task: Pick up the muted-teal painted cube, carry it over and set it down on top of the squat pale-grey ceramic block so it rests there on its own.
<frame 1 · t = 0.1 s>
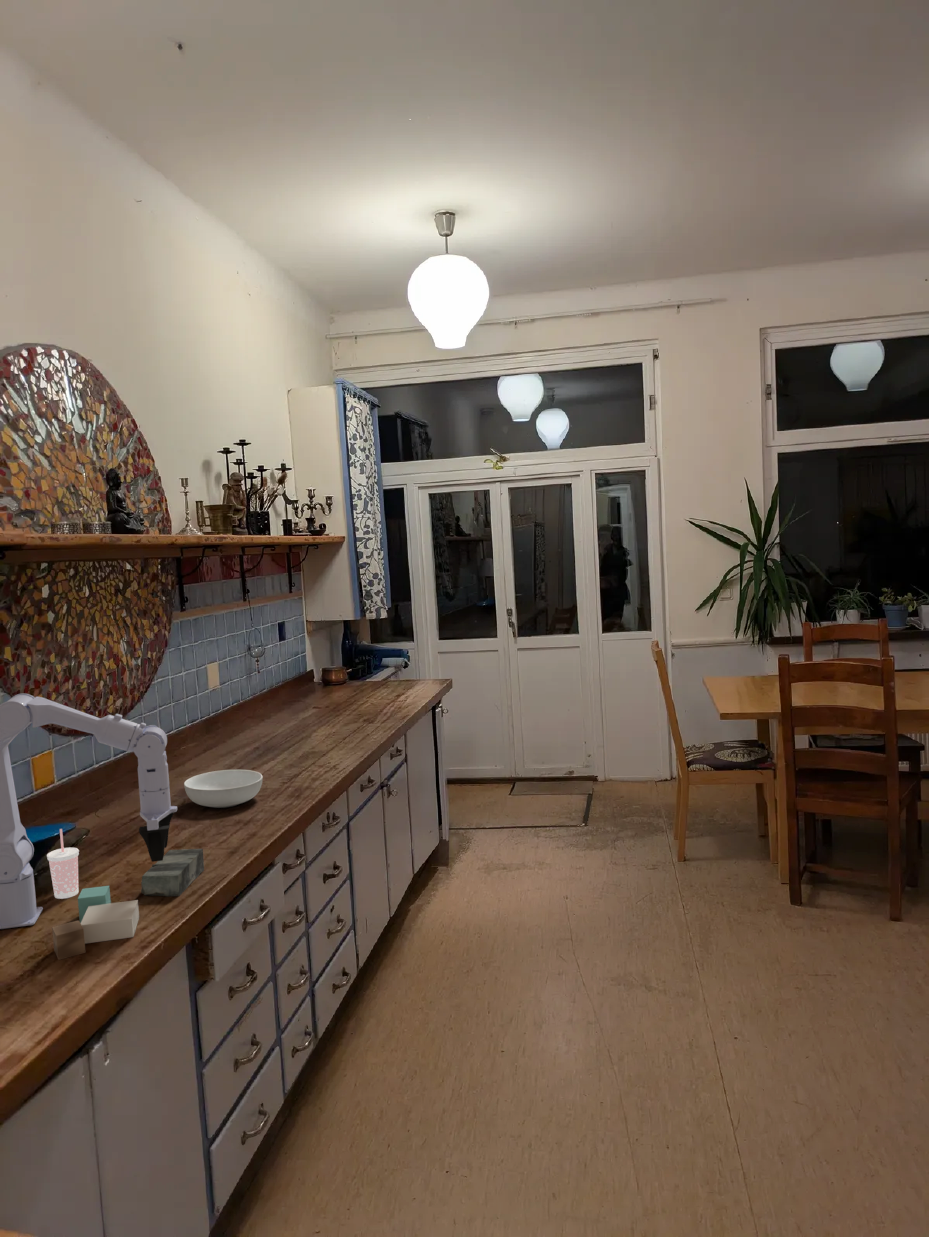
hand: (159, 854, 183), 10 cm above the kitchen counter, fingers open, 7 cm apart
ceramic base: (111, 930, 171), on the kitchen counter
serving bowl: (225, 803, 251), on the kitchen counter
walnut cube: (69, 951, 163), on the kitchen counter
beverage cup: (66, 895, 190), on the kitchen counter
stone block: (172, 885, 194), on the kitchen counter
teal cube: (95, 916, 178), on the kitchen counter
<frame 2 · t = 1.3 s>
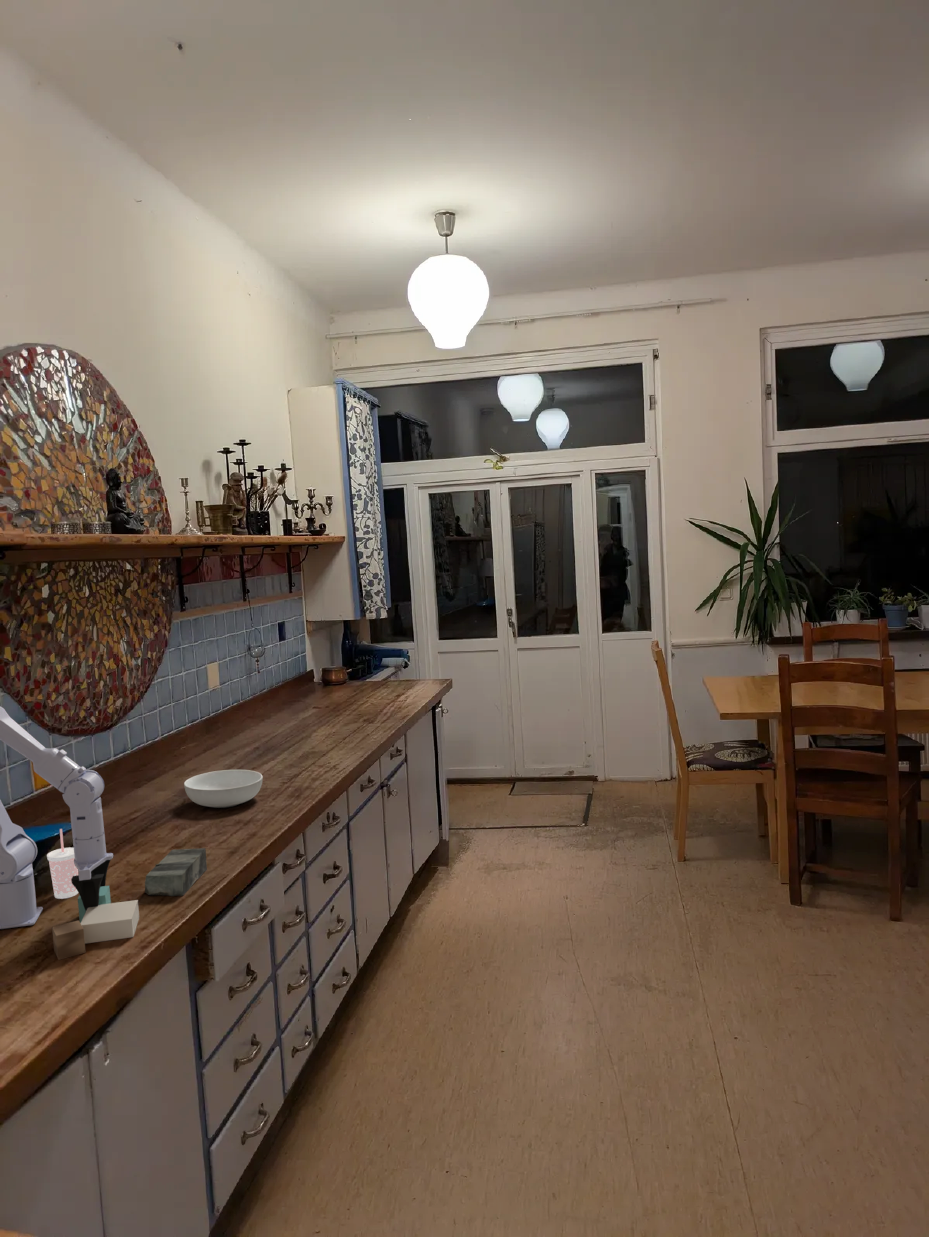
hand: (95, 902, 178), 3 cm above the kitchen counter, fingers open, 7 cm apart
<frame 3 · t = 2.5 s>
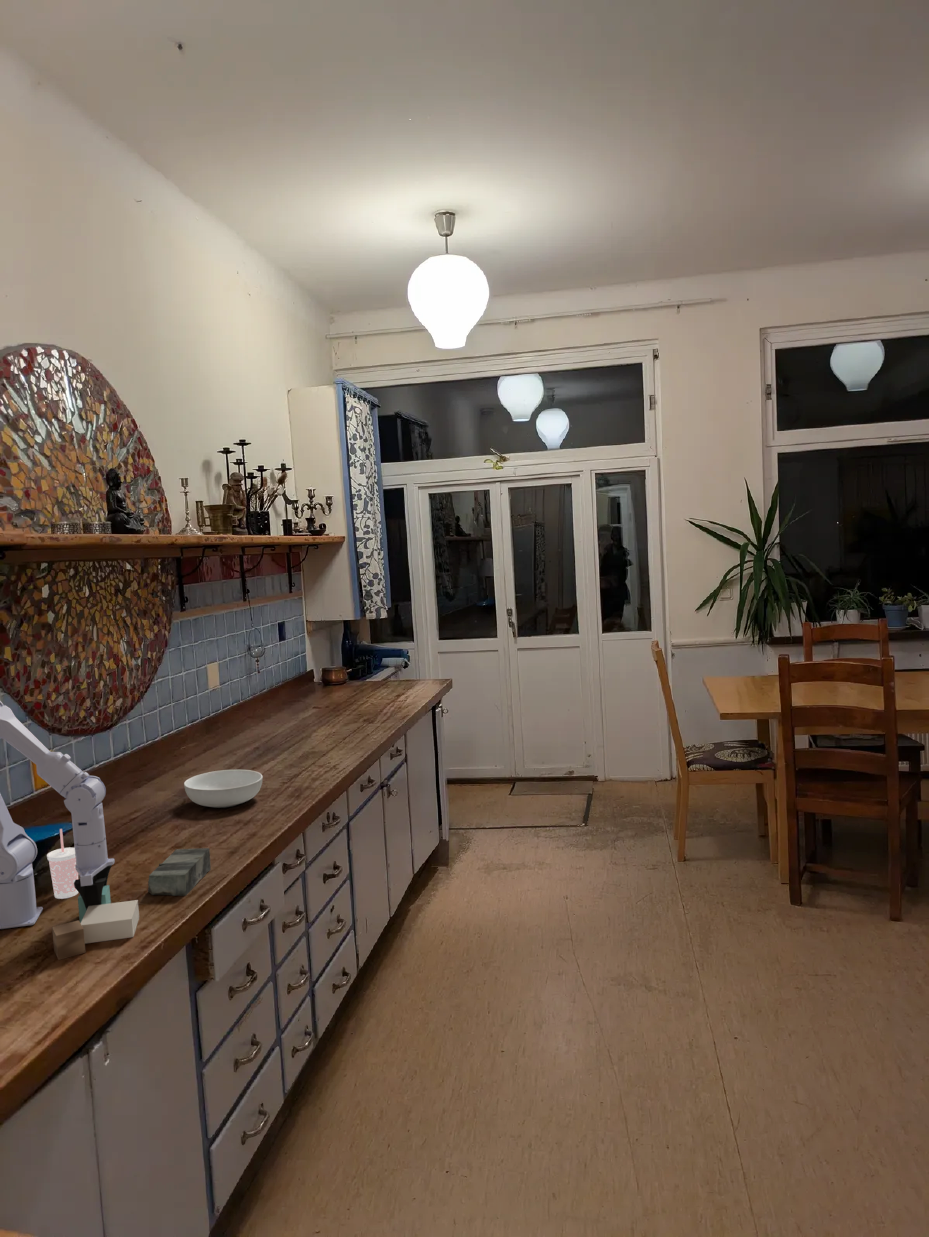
hand: (96, 908, 178), 2 cm above the kitchen counter, fingers closed on teal cube, 5 cm apart
teal cube: (95, 916, 178), on the kitchen counter, touching gripper
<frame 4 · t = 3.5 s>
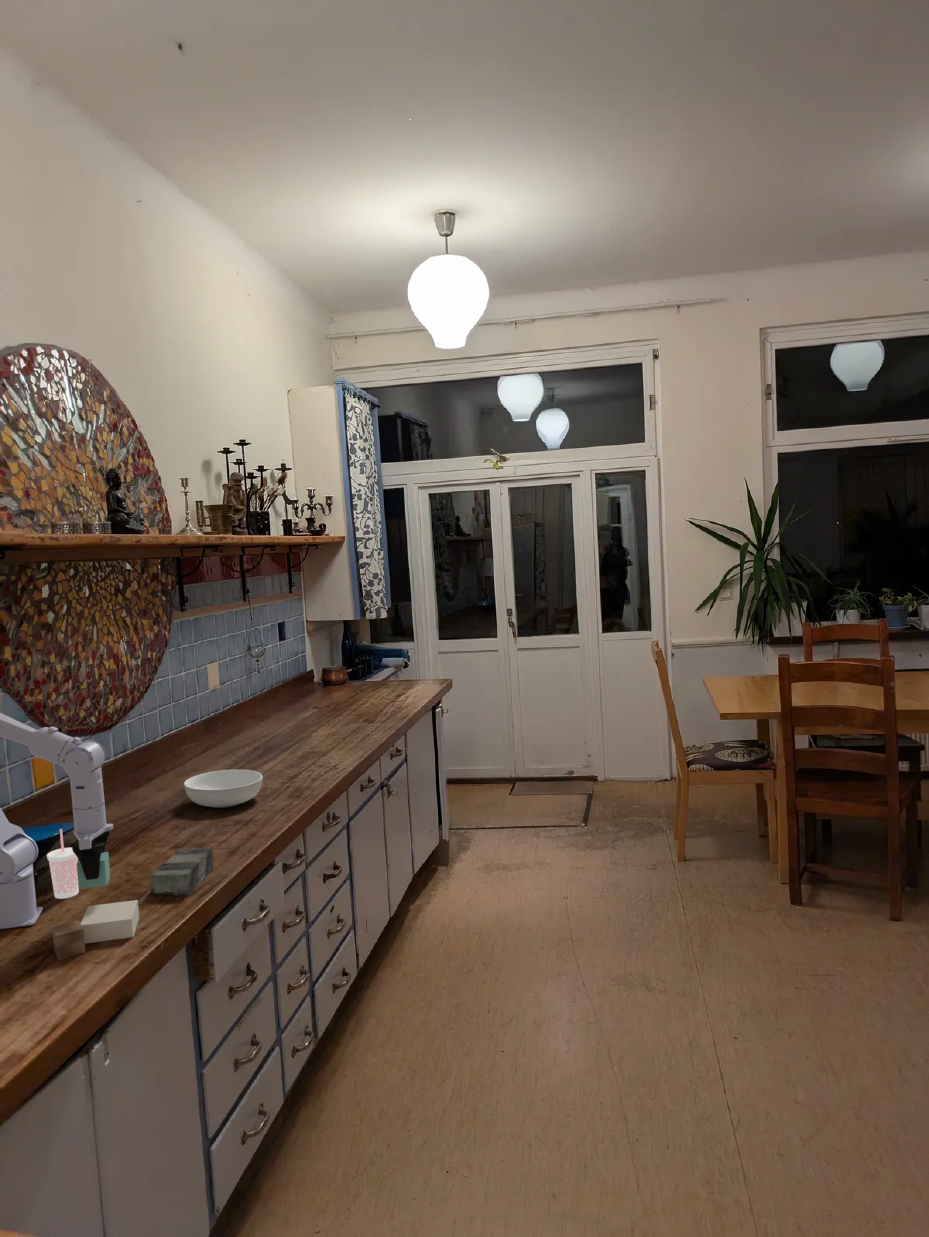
hand: (94, 873, 176), 9 cm above the kitchen counter, fingers closed on teal cube, 5 cm apart
teal cube: (94, 882, 176), point 7 cm above the kitchen counter, touching gripper
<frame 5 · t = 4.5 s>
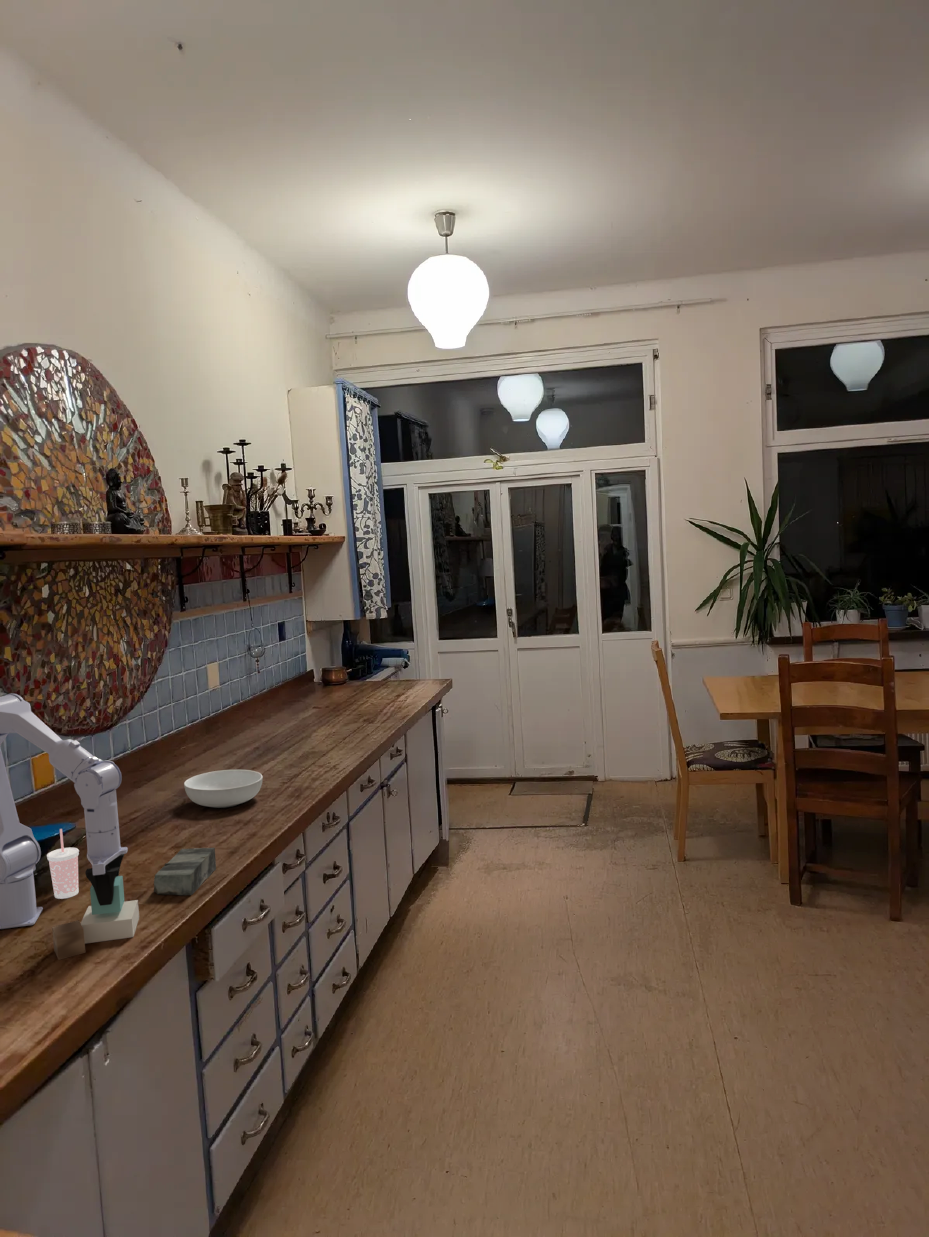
hand: (108, 898, 171), 6 cm above the kitchen counter, fingers closed on teal cube, 5 cm apart
teal cube: (108, 907, 171), point 4 cm above the kitchen counter, touching gripper
when the fingers open (6 cm above the kitchen counter, at t = 5.2 s): teal cube stays where it is, resting on ceramic base.
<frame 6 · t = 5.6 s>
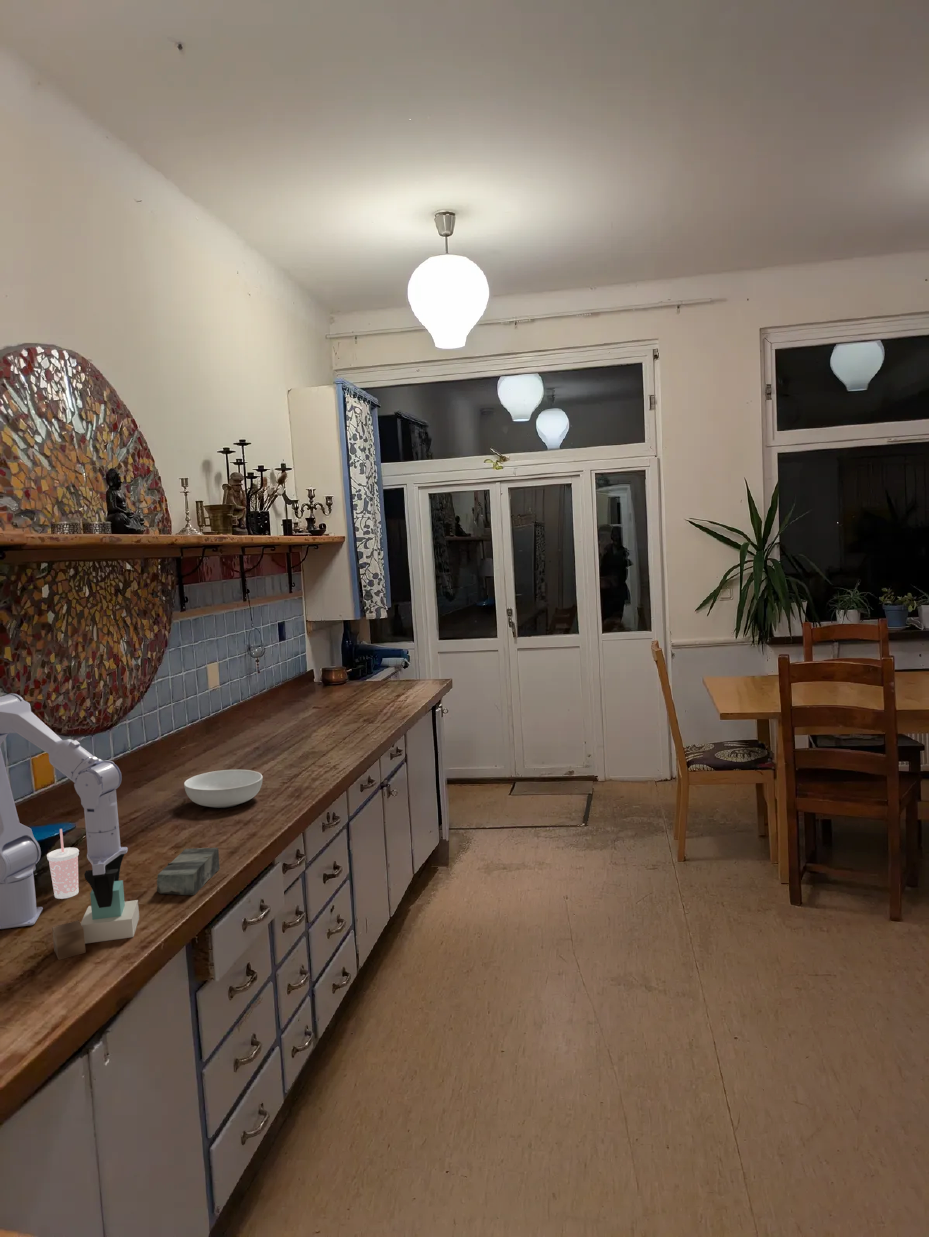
hand: (108, 898, 171), 6 cm above the kitchen counter, fingers open, 7 cm apart
teal cube: (108, 912, 171), point 3 cm above the kitchen counter, touching ceramic base
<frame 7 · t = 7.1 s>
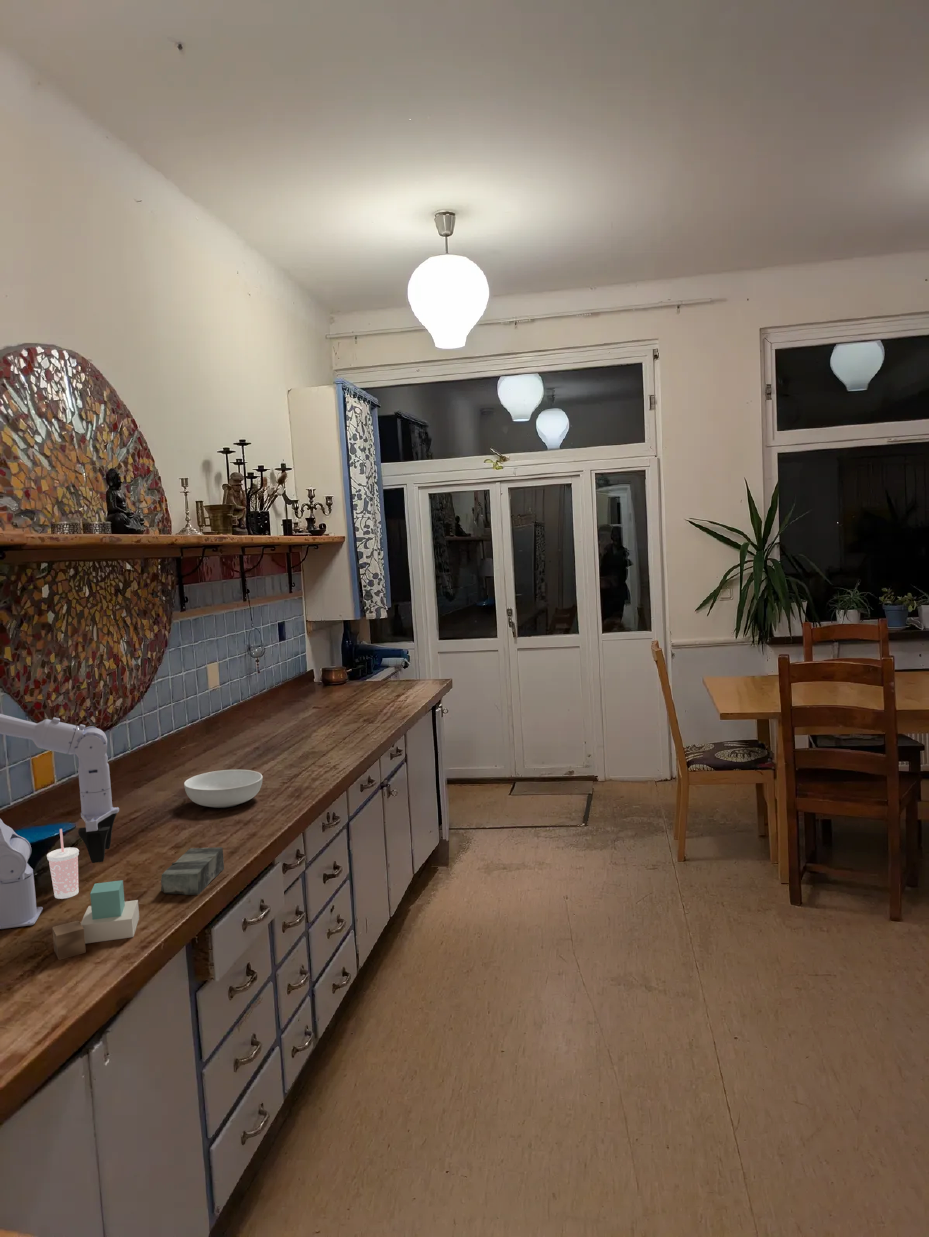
hand: (101, 855, 182), 10 cm above the kitchen counter, fingers open, 7 cm apart
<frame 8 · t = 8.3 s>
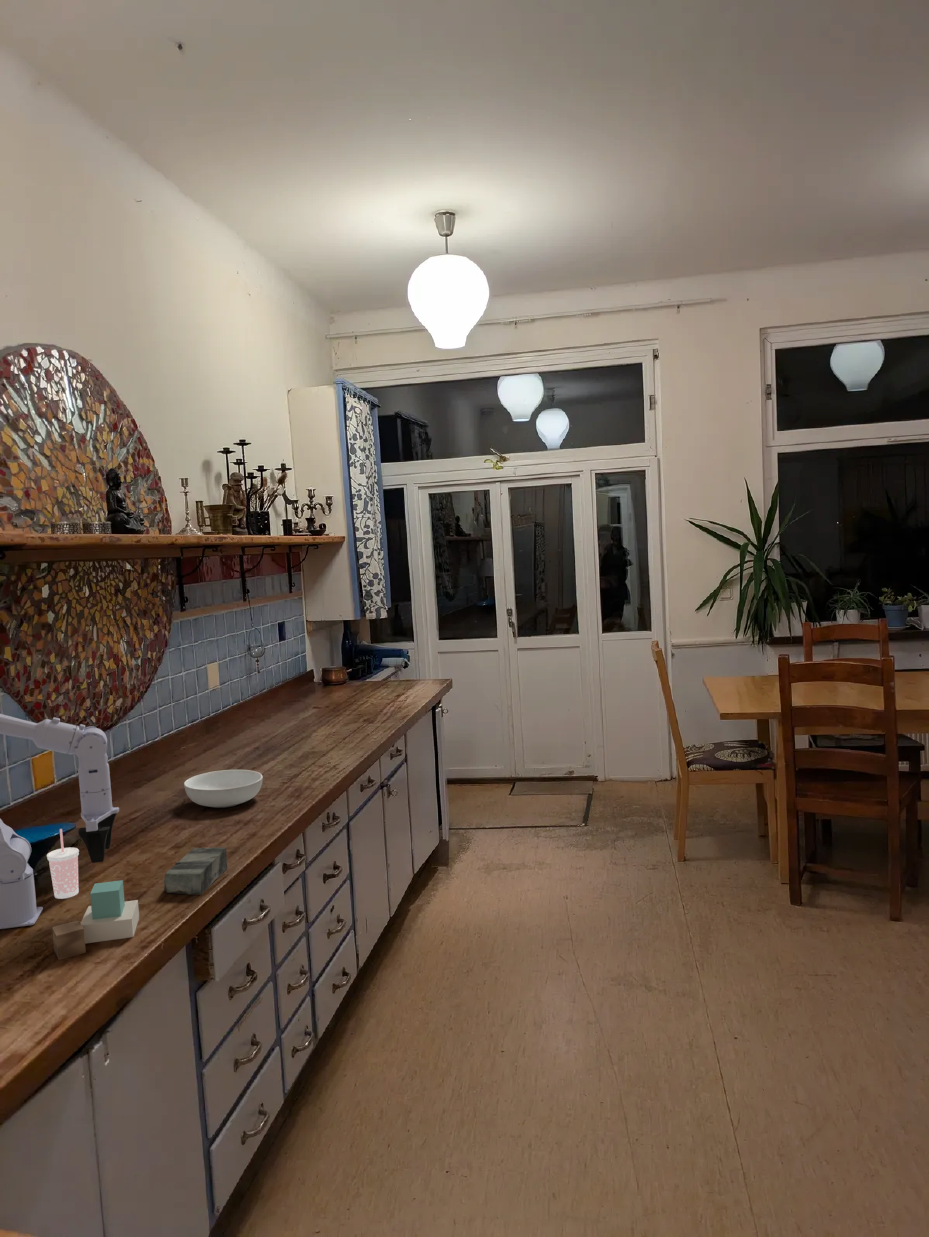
hand: (101, 855, 182), 10 cm above the kitchen counter, fingers open, 7 cm apart
at the end: teal cube 0.1 cm off-centre on the ceramic base, point 3.5 cm above the ceramic base's base; teal cube touching ceramic base; the gripper is holding nothing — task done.
